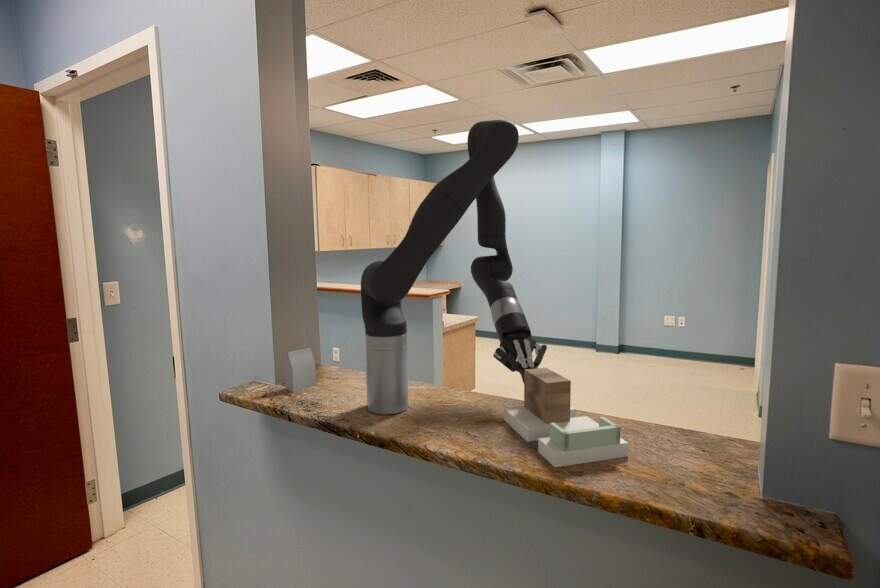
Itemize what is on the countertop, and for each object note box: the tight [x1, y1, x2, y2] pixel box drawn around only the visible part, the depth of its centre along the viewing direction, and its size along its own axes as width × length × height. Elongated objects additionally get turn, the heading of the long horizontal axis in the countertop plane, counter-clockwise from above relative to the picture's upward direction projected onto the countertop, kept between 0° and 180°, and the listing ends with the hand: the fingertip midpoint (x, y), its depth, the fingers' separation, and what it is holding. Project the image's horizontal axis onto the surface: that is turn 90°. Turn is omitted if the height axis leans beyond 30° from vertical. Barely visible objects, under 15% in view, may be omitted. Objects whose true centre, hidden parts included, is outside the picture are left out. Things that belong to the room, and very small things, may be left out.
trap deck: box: [502, 405, 630, 468], centre depth 89 cm, size 22×14×6 cm, turn 15°
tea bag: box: [284, 347, 317, 393], centre depth 121 cm, size 4×7×10 cm, turn 139°
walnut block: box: [523, 367, 572, 424], centre depth 94 cm, size 10×5×8 cm, turn 15°
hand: (532, 385), depth 100 cm, fingers closed
